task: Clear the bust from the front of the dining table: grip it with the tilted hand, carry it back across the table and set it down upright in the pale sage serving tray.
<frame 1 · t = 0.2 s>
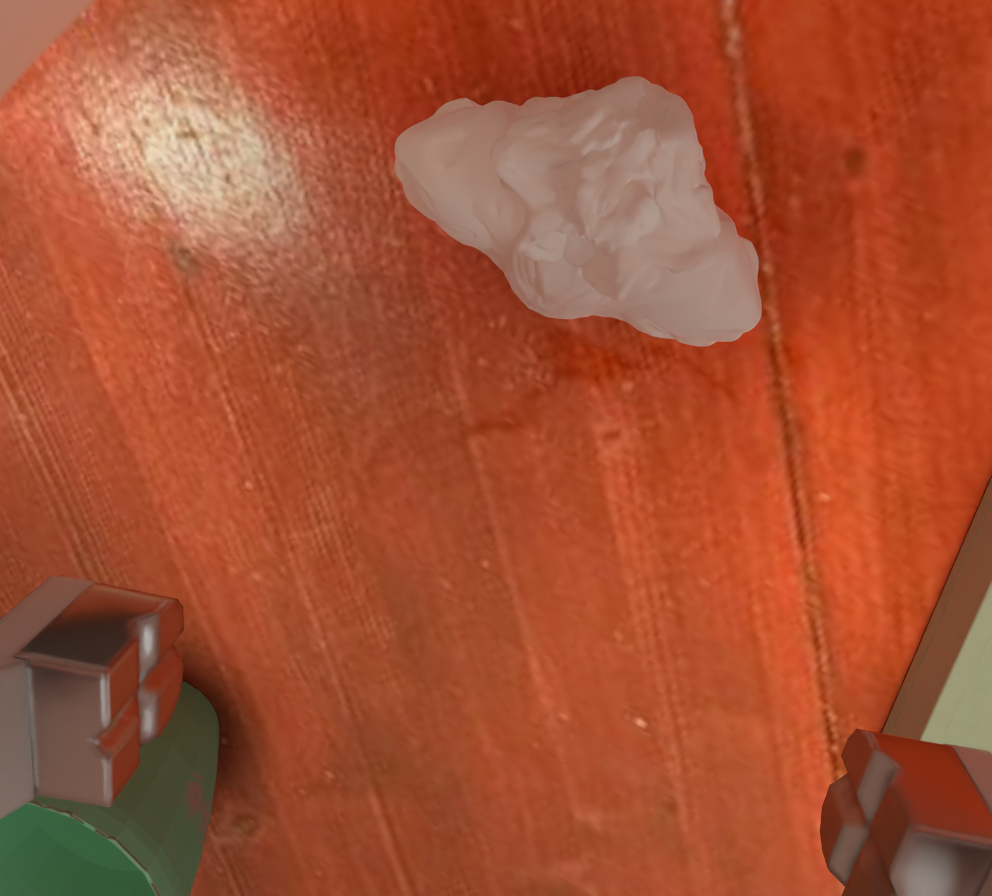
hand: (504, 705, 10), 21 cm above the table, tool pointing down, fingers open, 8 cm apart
bust: (588, 203, 29), on the table
mug: (168, 757, 39), on the table
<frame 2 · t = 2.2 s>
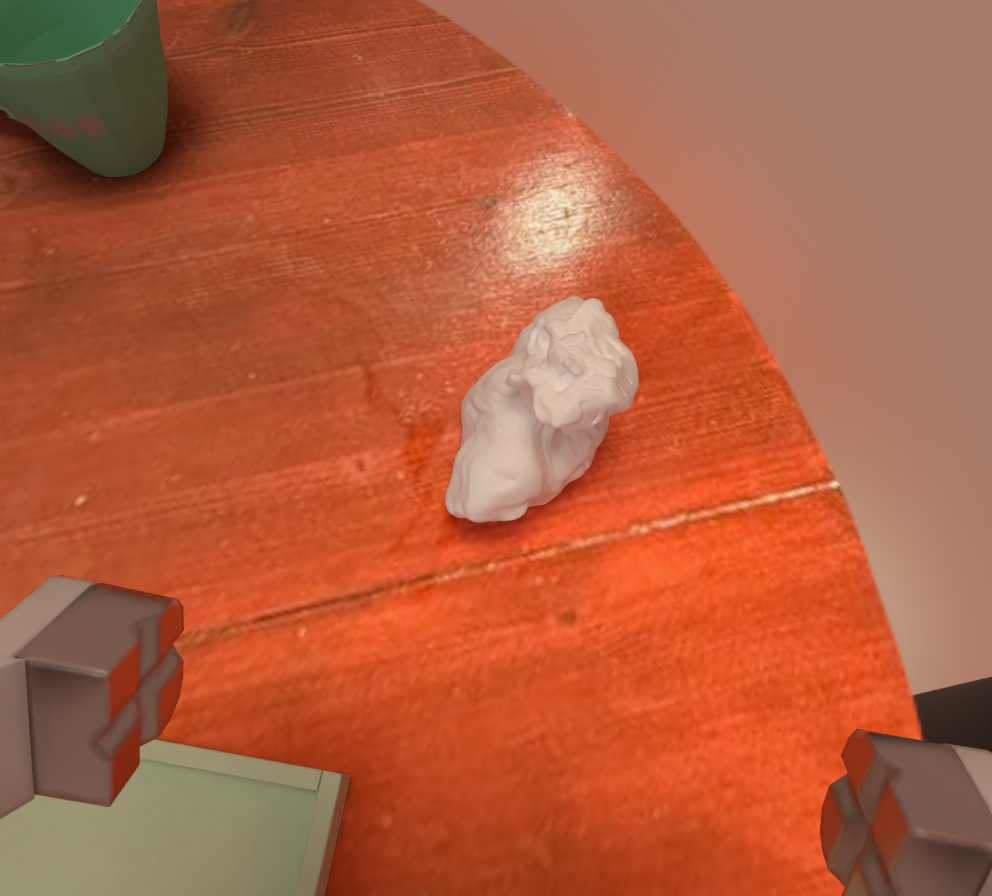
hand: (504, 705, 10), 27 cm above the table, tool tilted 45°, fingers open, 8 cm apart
bust: (532, 445, 41), on the table
mug: (81, 139, 48), on the table
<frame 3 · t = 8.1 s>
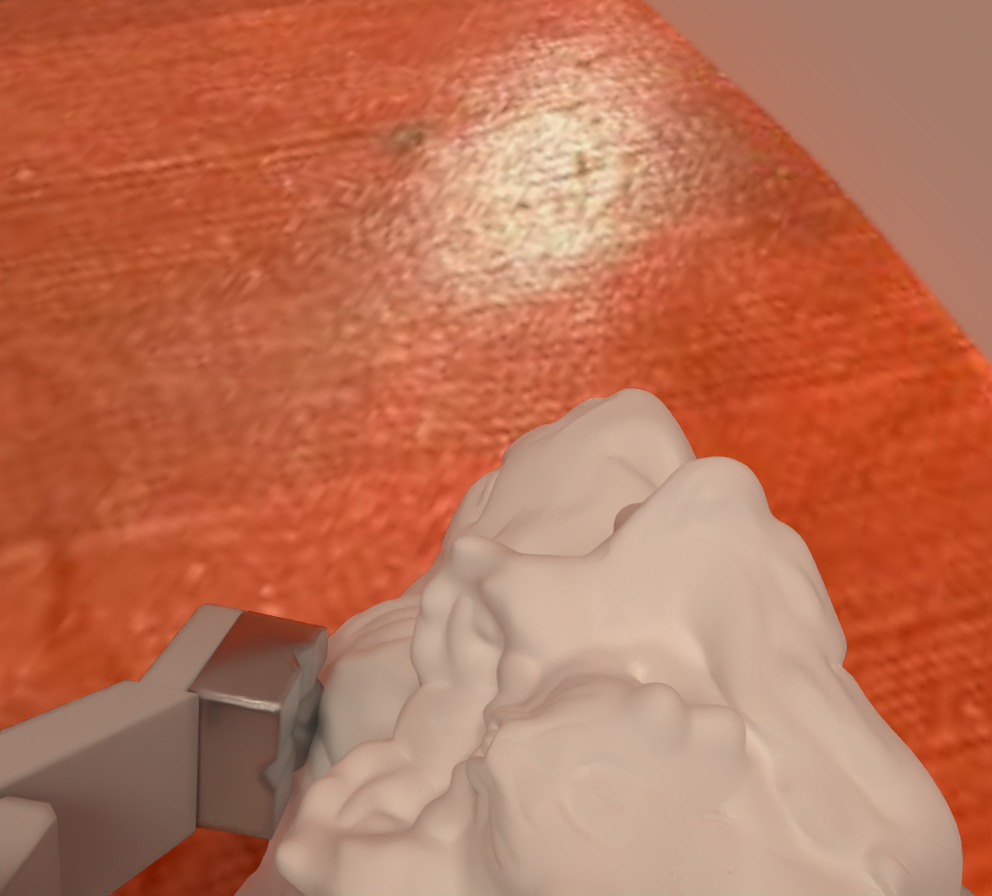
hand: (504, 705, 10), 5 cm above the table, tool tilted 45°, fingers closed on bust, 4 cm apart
bust: (505, 792, 15), on the table, touching gripper
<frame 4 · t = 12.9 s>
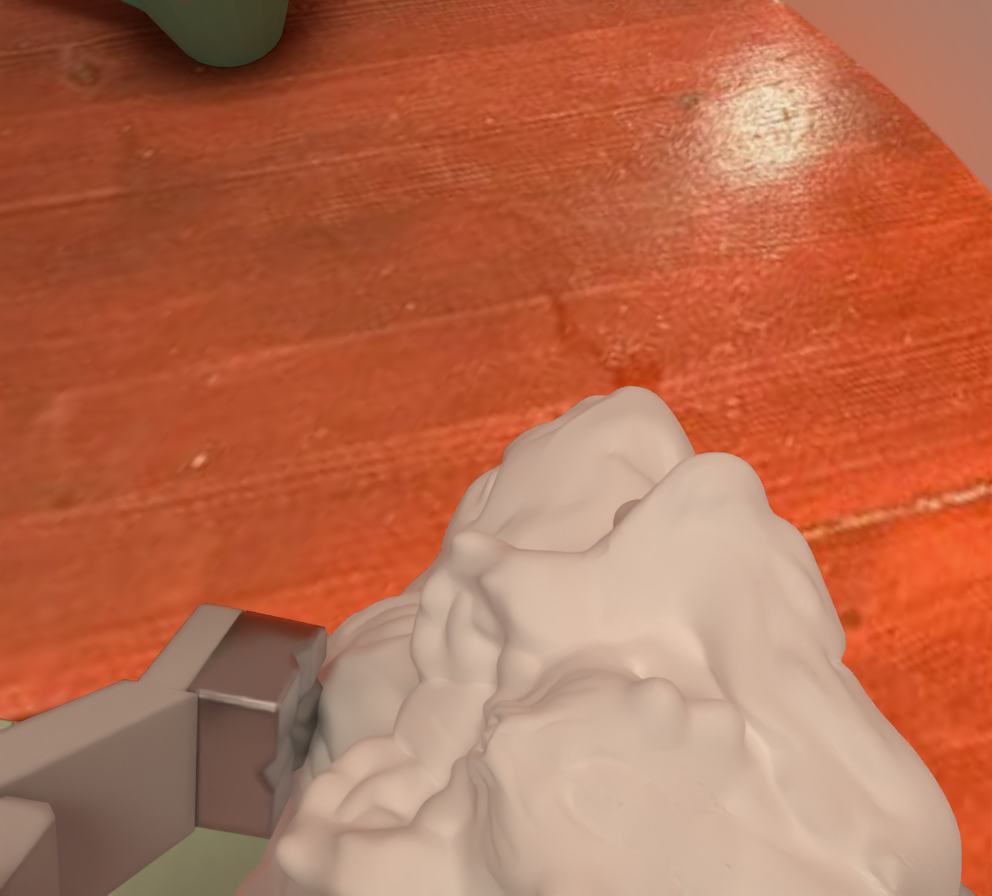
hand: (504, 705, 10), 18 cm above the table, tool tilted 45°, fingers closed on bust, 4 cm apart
bust: (505, 790, 15), point 12 cm above the table, touching gripper
mug: (180, 23, 39), on the table
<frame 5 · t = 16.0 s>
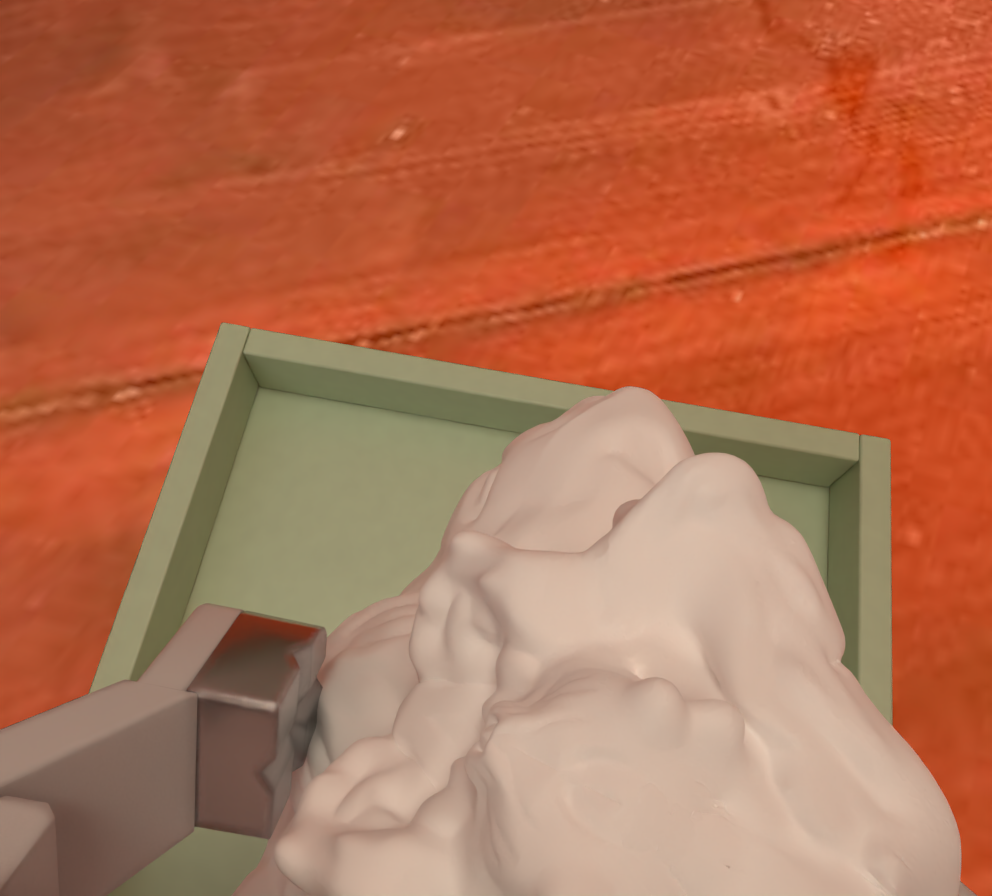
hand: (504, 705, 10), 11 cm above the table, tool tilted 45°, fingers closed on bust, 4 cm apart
bust: (504, 790, 15), point 6 cm above the table, touching gripper
serving tray: (464, 873, 20), on the table
when the fingers open (6 cm above the table, at t = 17.9 s): bust stays where it is, resting on serving tray.
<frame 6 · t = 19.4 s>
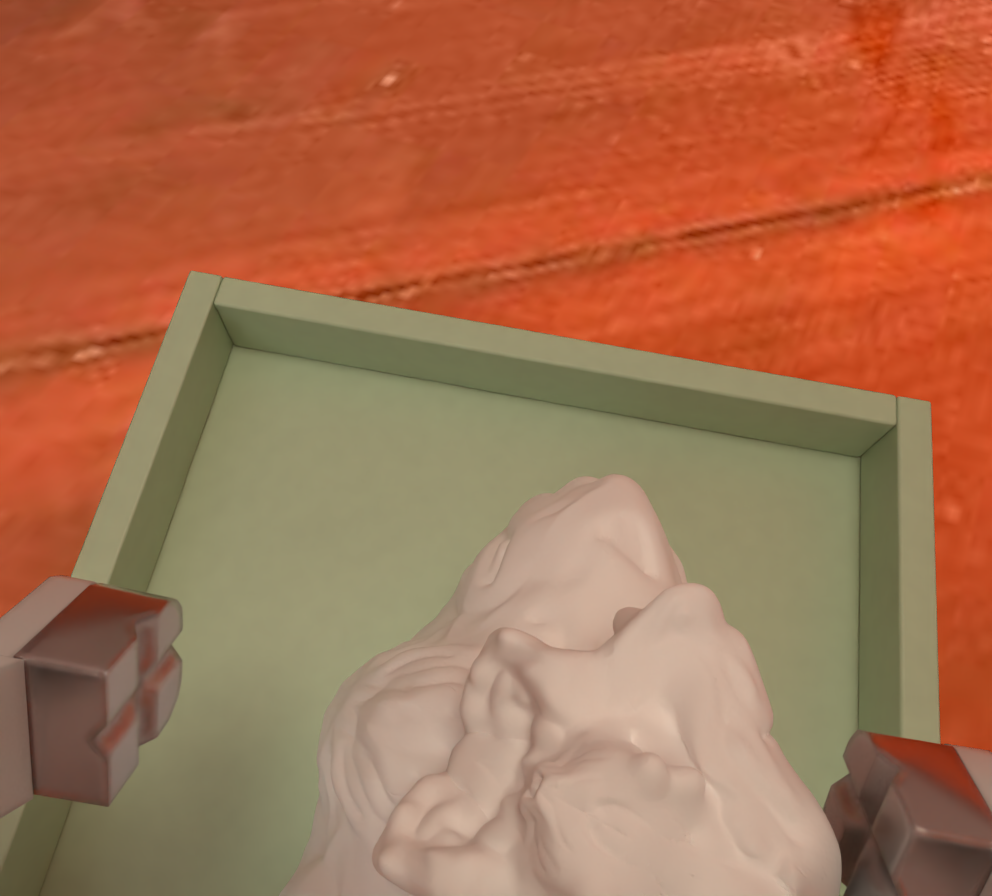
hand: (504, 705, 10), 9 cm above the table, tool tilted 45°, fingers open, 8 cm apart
bust: (496, 796, 18), resting on serving tray
serving tray: (456, 882, 17), on the table
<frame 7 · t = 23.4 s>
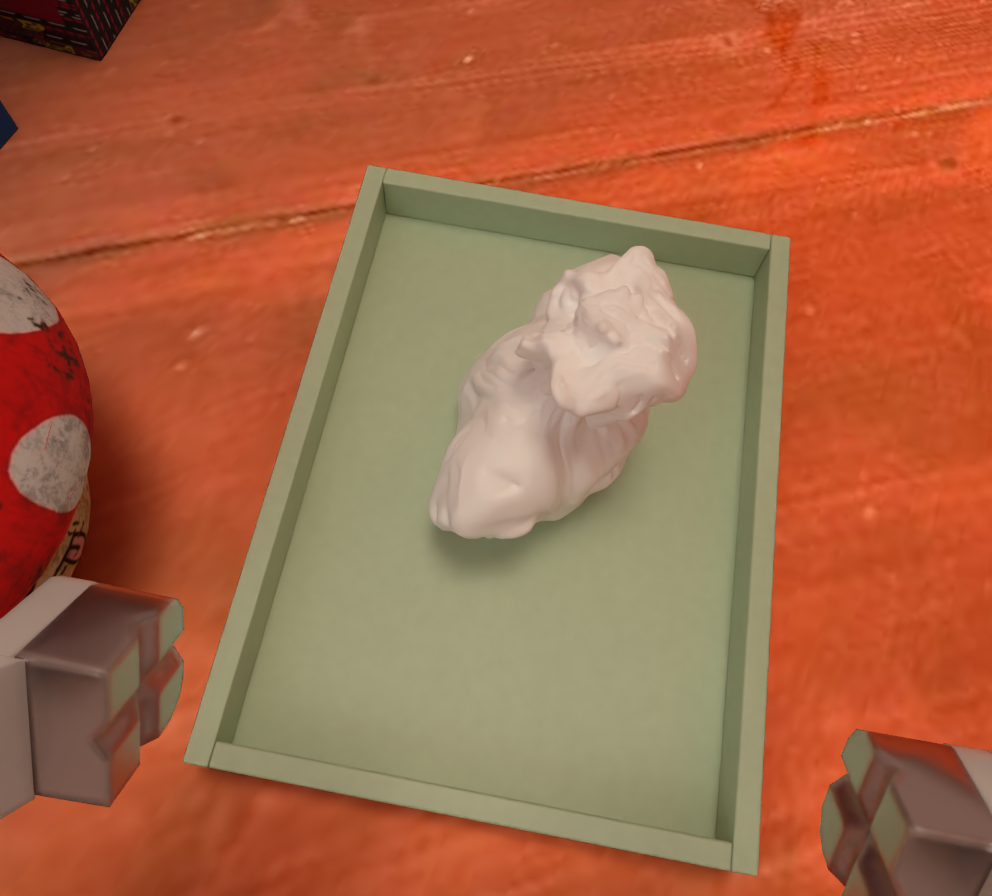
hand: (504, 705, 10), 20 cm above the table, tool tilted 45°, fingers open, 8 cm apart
bust: (546, 443, 33), resting on serving tray
serving tray: (525, 487, 32), on the table
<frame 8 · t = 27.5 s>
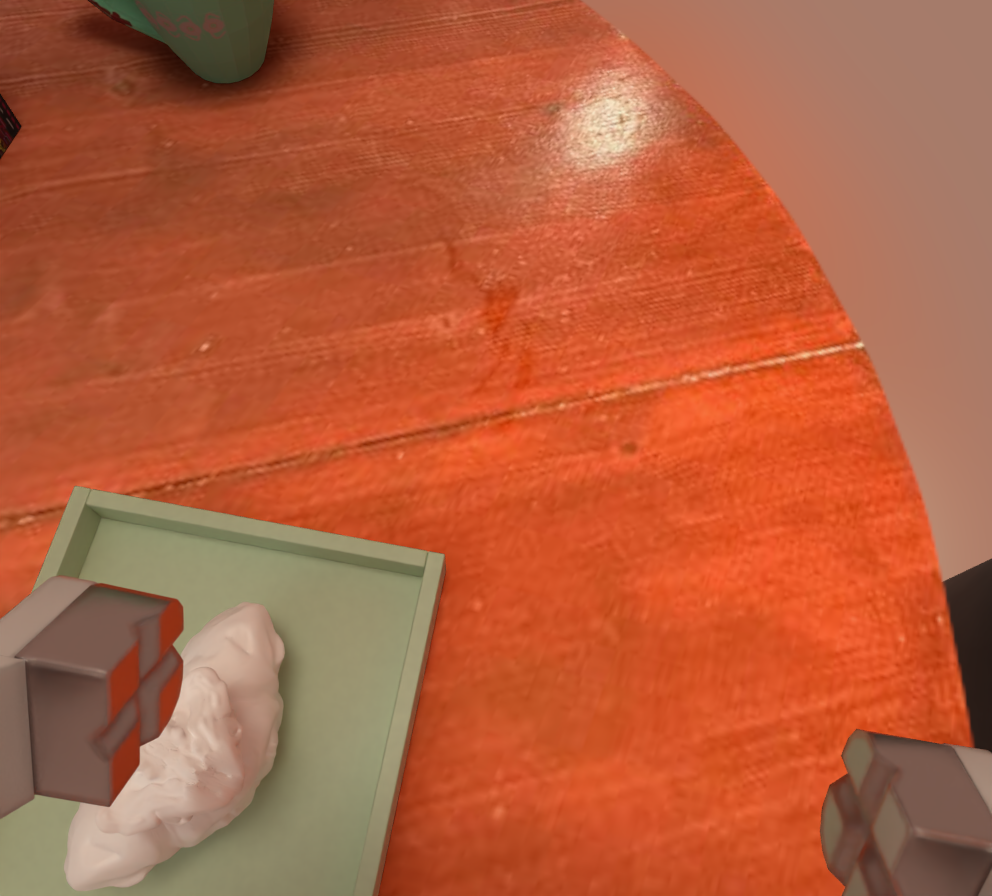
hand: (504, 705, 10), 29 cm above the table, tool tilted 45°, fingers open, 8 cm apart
bust: (214, 751, 37), resting on serving tray
serving tray: (193, 791, 37), on the table
mug: (191, 51, 54), on the table
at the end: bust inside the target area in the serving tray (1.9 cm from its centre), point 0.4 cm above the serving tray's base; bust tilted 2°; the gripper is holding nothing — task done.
